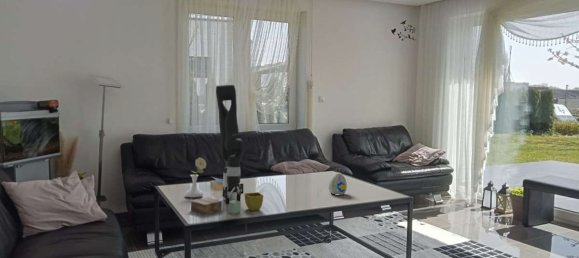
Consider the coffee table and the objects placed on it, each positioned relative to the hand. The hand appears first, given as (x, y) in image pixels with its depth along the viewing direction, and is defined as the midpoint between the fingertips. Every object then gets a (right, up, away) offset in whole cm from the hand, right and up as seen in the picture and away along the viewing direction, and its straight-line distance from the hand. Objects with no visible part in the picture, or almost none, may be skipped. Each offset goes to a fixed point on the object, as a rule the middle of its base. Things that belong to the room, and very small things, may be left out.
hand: (232, 202), depth 245 cm
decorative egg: (+64, -3, +51) cm, 82 cm away
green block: (0, -5, +1) cm, 5 cm away
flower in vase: (-28, -2, +33) cm, 43 cm away
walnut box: (-15, -5, +1) cm, 16 cm away
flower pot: (+11, -5, +7) cm, 14 cm away
